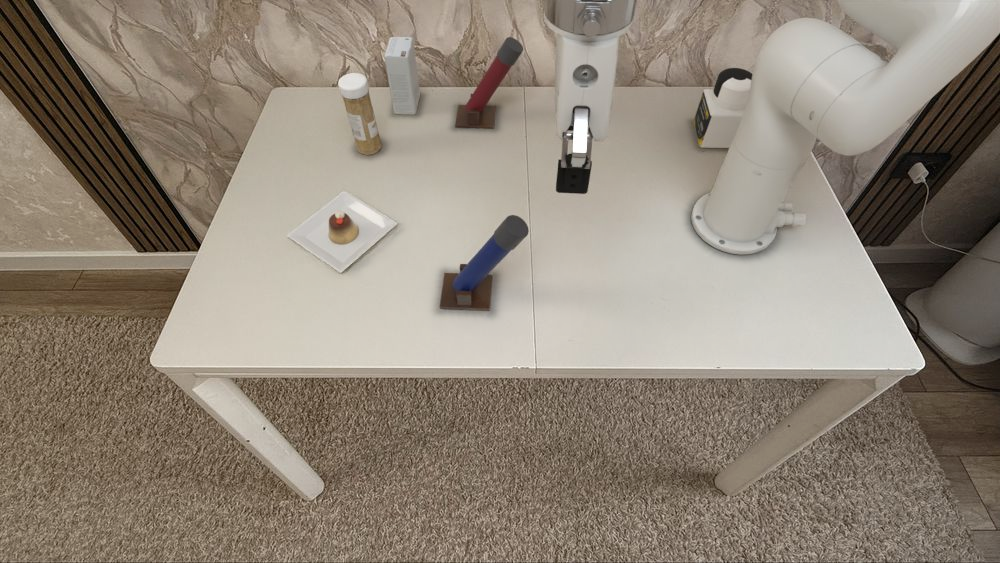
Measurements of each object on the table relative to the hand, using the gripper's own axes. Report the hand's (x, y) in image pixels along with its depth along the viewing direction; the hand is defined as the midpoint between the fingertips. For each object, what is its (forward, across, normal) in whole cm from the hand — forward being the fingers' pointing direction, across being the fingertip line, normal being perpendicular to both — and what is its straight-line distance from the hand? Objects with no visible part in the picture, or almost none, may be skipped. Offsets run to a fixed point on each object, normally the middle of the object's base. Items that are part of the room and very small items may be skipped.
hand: (571, 158), depth 60 cm
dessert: (+25, +8, +33) cm, 42 cm away
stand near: (+24, -2, +13) cm, 28 cm away
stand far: (+25, +37, +16) cm, 47 cm away
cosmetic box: (+25, +40, +29) cm, 55 cm away
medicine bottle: (+25, +36, -27) cm, 51 cm away
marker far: (+22, +37, +16) cm, 46 cm away
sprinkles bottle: (+25, +28, +34) cm, 50 cm away
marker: (+22, -2, +13) cm, 25 cm away
